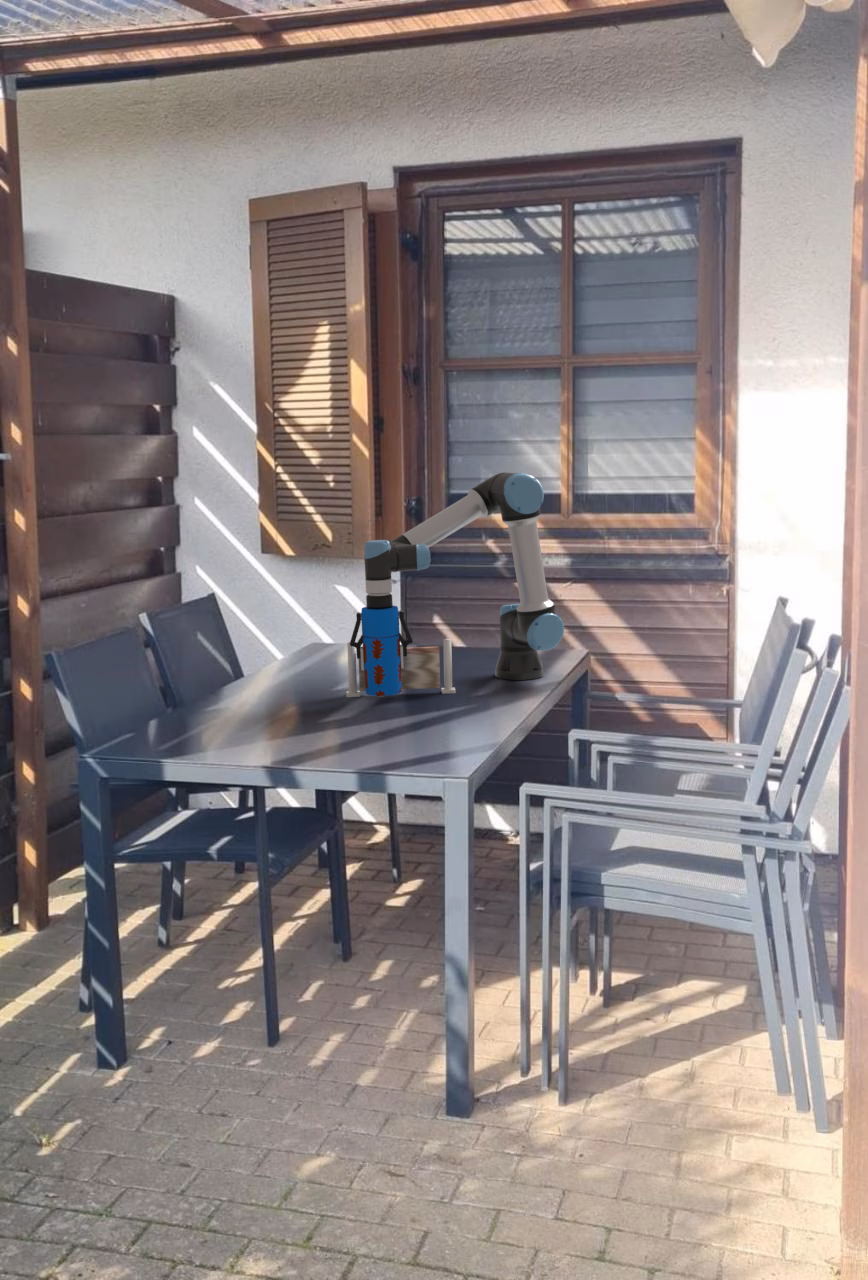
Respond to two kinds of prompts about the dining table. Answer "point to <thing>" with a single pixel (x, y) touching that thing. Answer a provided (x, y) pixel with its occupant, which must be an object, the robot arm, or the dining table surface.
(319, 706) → the dining table surface
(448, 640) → the gate posts
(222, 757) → the dining table surface
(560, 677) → the dining table surface
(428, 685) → the gate
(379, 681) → the thermos
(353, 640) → the robot arm
